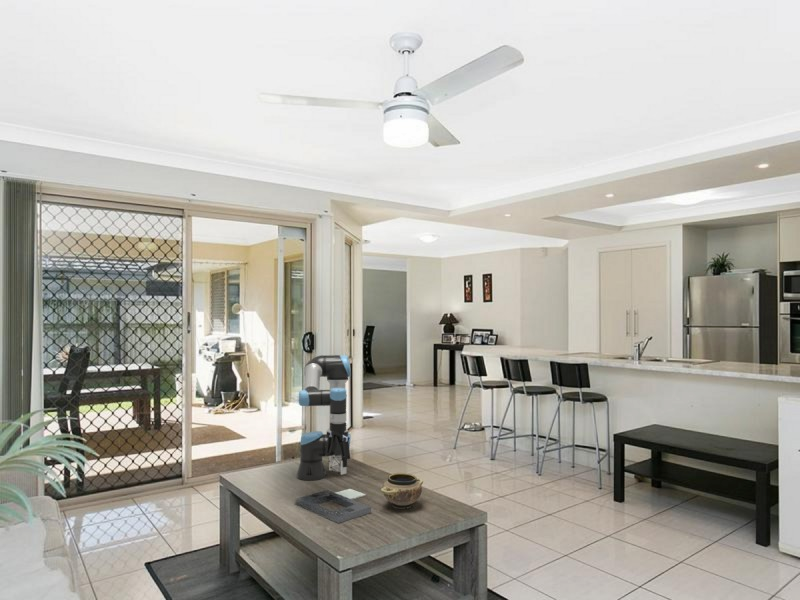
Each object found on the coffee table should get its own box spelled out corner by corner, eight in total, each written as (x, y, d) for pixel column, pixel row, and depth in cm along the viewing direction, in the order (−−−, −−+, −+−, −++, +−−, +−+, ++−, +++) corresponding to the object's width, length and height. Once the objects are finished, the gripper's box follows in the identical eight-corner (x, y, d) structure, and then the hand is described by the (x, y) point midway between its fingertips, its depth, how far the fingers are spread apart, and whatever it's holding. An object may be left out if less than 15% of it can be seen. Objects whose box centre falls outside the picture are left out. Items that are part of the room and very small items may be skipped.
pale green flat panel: (330, 495, 260) (330, 494, 260) (350, 489, 268) (350, 488, 268) (345, 501, 251) (345, 500, 251) (365, 495, 259) (365, 494, 259)
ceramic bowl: (390, 522, 232) (396, 490, 230) (366, 501, 245) (371, 471, 243) (431, 509, 248) (437, 479, 246) (406, 490, 262) (411, 462, 259)
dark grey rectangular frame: (295, 504, 247) (295, 498, 247) (327, 495, 260) (327, 489, 260) (338, 523, 224) (338, 517, 224) (371, 512, 237) (371, 506, 237)
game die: (342, 480, 249) (354, 463, 248) (328, 477, 243) (341, 460, 242) (334, 466, 256) (346, 450, 254) (321, 463, 250) (333, 447, 249)
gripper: (318, 419, 254) (318, 468, 254) (345, 427, 239) (345, 478, 239) (331, 417, 259) (331, 465, 259) (358, 424, 244) (358, 475, 244)
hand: (337, 471), depth 249 cm, fingers closed on game die, 8 cm apart
